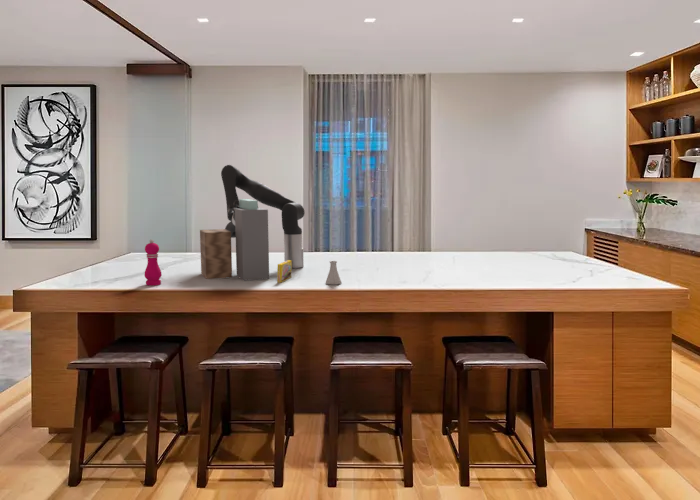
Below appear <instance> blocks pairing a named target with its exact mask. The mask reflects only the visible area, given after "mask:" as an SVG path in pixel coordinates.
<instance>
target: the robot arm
mask: <svg viewBox="0 0 700 500" xmlns="http://www.w3.org/2000/svg"><path fill="white" fill-rule="evenodd" d="M220 175H221V180H222V184H223V188H224V195H225V202H226V215H227V220H228V221H229V222H228V223H226V226H225V228H224V229H226V230H228V231H230V232H231V239H232V238H233V239H234V238H235V239H236V232H235V209H237V208H240V207H239V196H238V193H237V188H238V189H239V190H241V191H243V192H244V193H246V194H248V196H250V197H251V198H253V200H256V201H258V202H259V203H261V204H263V205H265V206H268V207H271V208H274V209H278V210H280V211H281V225H282V230H283V241H284V242H283V244H284V245H283V246H284V247H283V249H284V250H283V251H284V253H283V254H284V255H283V257H284V260H283V262H285V261H287V260H291V261H292V265H291V269H296V268H297V269H299V268H303V267H304V264H305V263H304V248H303V229H302V227H300V226H299V220H301V219H303V217H304V216H305V212H306V211H305V209H304V207H303V205H302V204H301V203H299V202H297V201H295V200H292V199H290V198H288V197H285V195H282V194H281V193H280V192H277V191H276V190H275V189H273V188H271V187H269V186H268V185H266V184H264V183H262V182H260V181H258V180H253V179H251V178H250V177H248V176H246V175H245V174H244V173H243V172H242V171H240V169H238V168H237V167H236V166H234V165H232V164H227V165H225V166H223V167H222V169H221V173H220Z"/></svg>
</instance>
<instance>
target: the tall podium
mask: <svg viewBox="0 0 700 500" xmlns="http://www.w3.org/2000/svg"><path fill="white" fill-rule="evenodd" d="M235 232H236V238H235V258H236V259H235V260H236V262H235V264H236V265H235V268H236V269H235V270H236V276H237V277H238V278H239V277H240V278H239V279H241V280H242V281H243V280H244V281H258V279H260V280H270V255H269V254H270V253H269V252H270V250H269V249H270V248H269V210H268V209H267V208H262V207H258V209H257V210H248V209H244V208H237V209H235Z"/></svg>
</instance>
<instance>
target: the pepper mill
mask: <svg viewBox="0 0 700 500" xmlns="http://www.w3.org/2000/svg"><path fill="white" fill-rule="evenodd" d="M144 252H145V253H146V254H145V255H146V260H147V264H146V267H145V270H144V277H145V279H146V280H145V285H146V286H153V287H154V286H160V285H161V284H162V280H161V277H162V276H163V275H162V270H161V268H160V266H159V263H158V258H159V253H158V252H160V246H159V245H158V244H157V242H156V243H155V240H154V239H150V240H149V243H147V244H145V247H144Z"/></svg>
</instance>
